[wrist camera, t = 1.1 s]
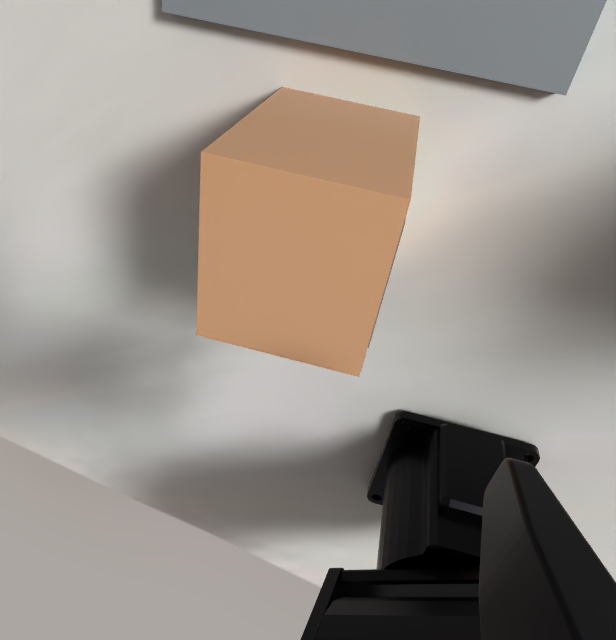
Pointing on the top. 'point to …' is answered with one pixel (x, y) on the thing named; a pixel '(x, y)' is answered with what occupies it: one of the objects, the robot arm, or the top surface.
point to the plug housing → (303, 226)
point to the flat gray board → (429, 32)
